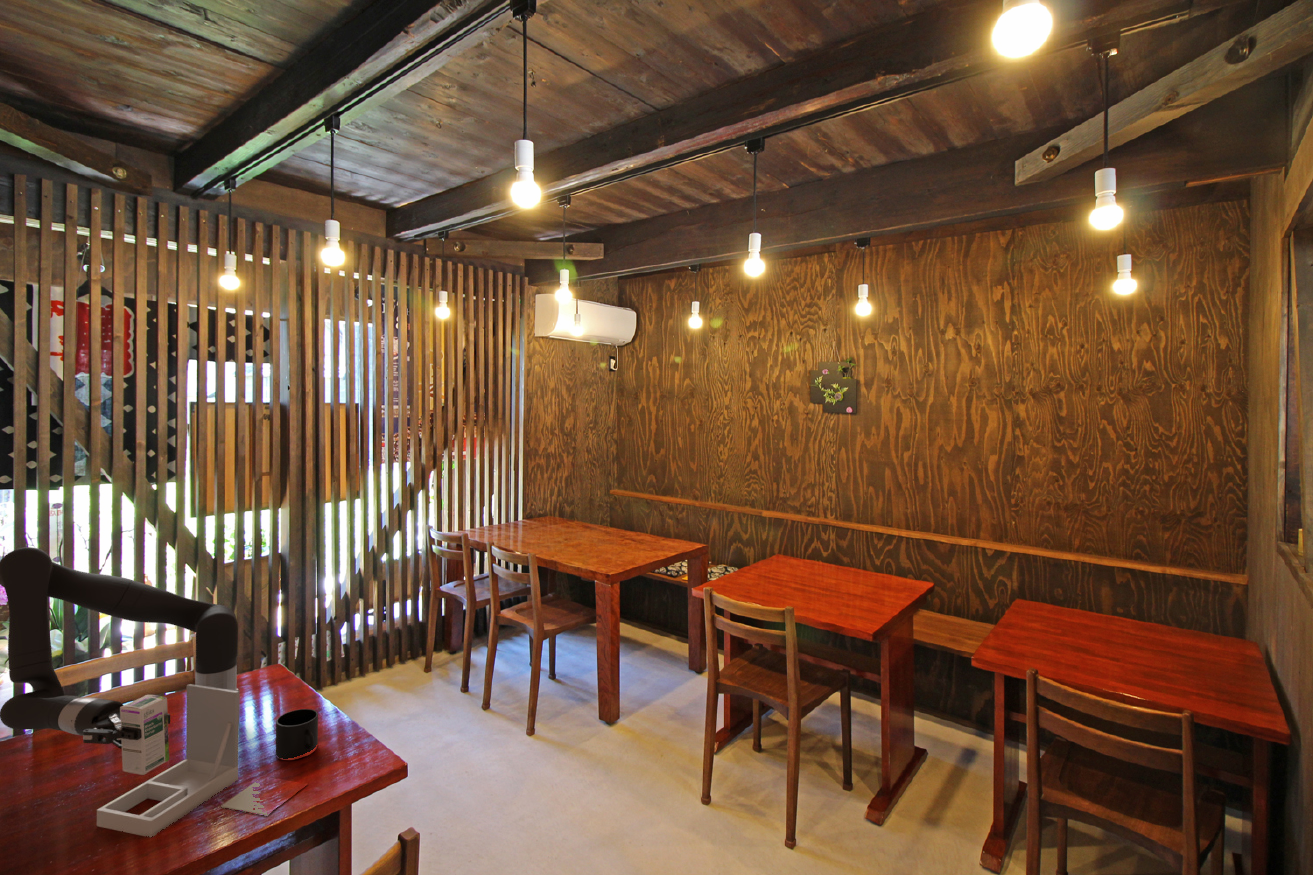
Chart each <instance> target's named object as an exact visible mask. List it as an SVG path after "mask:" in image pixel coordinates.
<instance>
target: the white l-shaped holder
mask: <svg viewBox="0 0 1313 875" xmlns="http://www.w3.org/2000/svg"><path fill="white" fill-rule="evenodd" d="M185 714H186V719H185V720H186V724H185V725H186V729H185V730H186V734H185V735H186V738H185V740H186V742H185V743H186V744H185V746H186V747H185V750H186V751H185V754H186V755H185V759H184V760H181V761H180V762H177V763H176V764H175V765H173V766H171V767H170V768H168V769H166V770H164V771H162V772H161V773H159V774H157V775H156V776H154V777H151V778H150V779H148V780H146V781H144V782H143V783H142V784H139V785H138V786H136V787H134V788H133V789H131V790H129V791H127V792H125V793H124V794H123V795H120V796H119V797H117V798H115V799H114V800H111V801H110V802H108V803H107V804H105V805H103V806H101V807H99V808H98V809H96V827H99V828H105V829H108V830H114V831H117V832H122V831H123V833H127V834H128V833H129V834H132V835H137V836H141V837H146V836H147V837H146V838H151V837H152V836H153V837H154V836H156V835H157V833H158V832H159V833H160V831H161V830H162V829H164V830H165V829H167V828H168V827H170V826H171V825H173V824H174V823H176V822H177V821H179V820H180V819H181V818H183V817H185V816H186V815H188V814H190V813H191V812H192V811H193V809H194V808H195V809H197V808H198V807H200V806H201V805H202V803H203V802H204V801H206V802H207V801H209V800H211V799H212V798H213V797H215V796H216V795H218V794H219V793H221V792H222V791H224V790H225V789H226V788H225V787H227V788H229V787H230V786H231V785H233V784H234V783H236V782H237V781H239V726H240V725H239V724H240V705H239V691H234V690H227V689H220V688H214V687H207V686H200V685H195V684H194V683H192V684H191V683H189V684H187V685H186V713H185ZM236 780H237V781H236ZM235 781H236V782H235ZM233 782H234V783H233ZM232 783H233V784H232ZM224 788H225V789H224ZM223 789H224V790H223ZM220 791H221V792H220ZM218 792H219V793H218ZM217 793H218V794H217ZM215 794H216V795H215ZM214 795H215V796H214ZM212 796H213V797H212ZM211 797H212V798H211ZM147 799H148V800H155V801H160V802H159V803H157V804H155V805H154V806H153V807H150V808H149V809H148V810H146V811H144V812H142V813H141V814H134V813H130V812H127V811H128V810H131V809H133V808H134V807H135V806H137V805H139V804H140V803H142V802H144V801H145V800H147ZM208 799H209V800H208ZM204 803H205V802H204ZM204 803H203V804H204ZM200 804H201V805H200ZM199 805H200V806H199ZM197 806H198V807H197ZM195 809H194V810H195ZM190 811H191V812H190ZM184 815H185V816H184ZM178 819H179V820H178ZM173 822H174V823H173ZM172 823H173V824H172ZM170 824H171V825H170ZM169 825H170V826H169ZM166 827H167V828H166ZM162 831H163V830H162ZM162 831H161V832H162ZM159 833H158V834H159ZM148 836H149V837H148ZM153 837H152V838H153Z"/></svg>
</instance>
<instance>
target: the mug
mask: <svg viewBox="0 0 1313 875" xmlns="http://www.w3.org/2000/svg"><path fill="white" fill-rule="evenodd" d="M318 738H319V713H318V711H317V710H315V709H312V708H301V709H295V710H294V709H293V710H291V711H287V712H285V713H282V714H281V715H280V716H279V717H278V718H276V720H275V756H276V755H277V756H278V757H279V758H283V759H288V758H294V757H297V756H300V755H303V754H305V753H307V752H310V751H311V750H313V749H314V748H315V747H316V745H317V744H318V742H319V741H318V740H319V739H318Z"/></svg>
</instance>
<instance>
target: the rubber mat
mask: <svg viewBox="0 0 1313 875" xmlns="http://www.w3.org/2000/svg"><path fill="white" fill-rule="evenodd" d="M259 786H260V784H259V783H256V781H254V783H251V785H249V786H248V787H246V788H245V789H243V790H242V791H240V792H239V793H237V794H235V795H234V796H233V797H231V798H230V799H229V800H227V801H225V802H224V803H222V804H221V805H220V808H221V807H222V808H221V809H225V808H229V809H228V810H230V809H235V810H243V811H245V812H244V813H246V811H247V812H252V813H257V814H263V815H268V814H267V811H266V813H264V812H262V810H261V809H258V808H264V806H263V805H260V803H257V802H253V801H263V800H260V798H255V797H253V795H252V794H259V793H260V792H258V791H253V788H252V787H259ZM254 790H255V789H254ZM254 805H257V806H254ZM253 808H255V810H253ZM235 810H234V811H235Z"/></svg>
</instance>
